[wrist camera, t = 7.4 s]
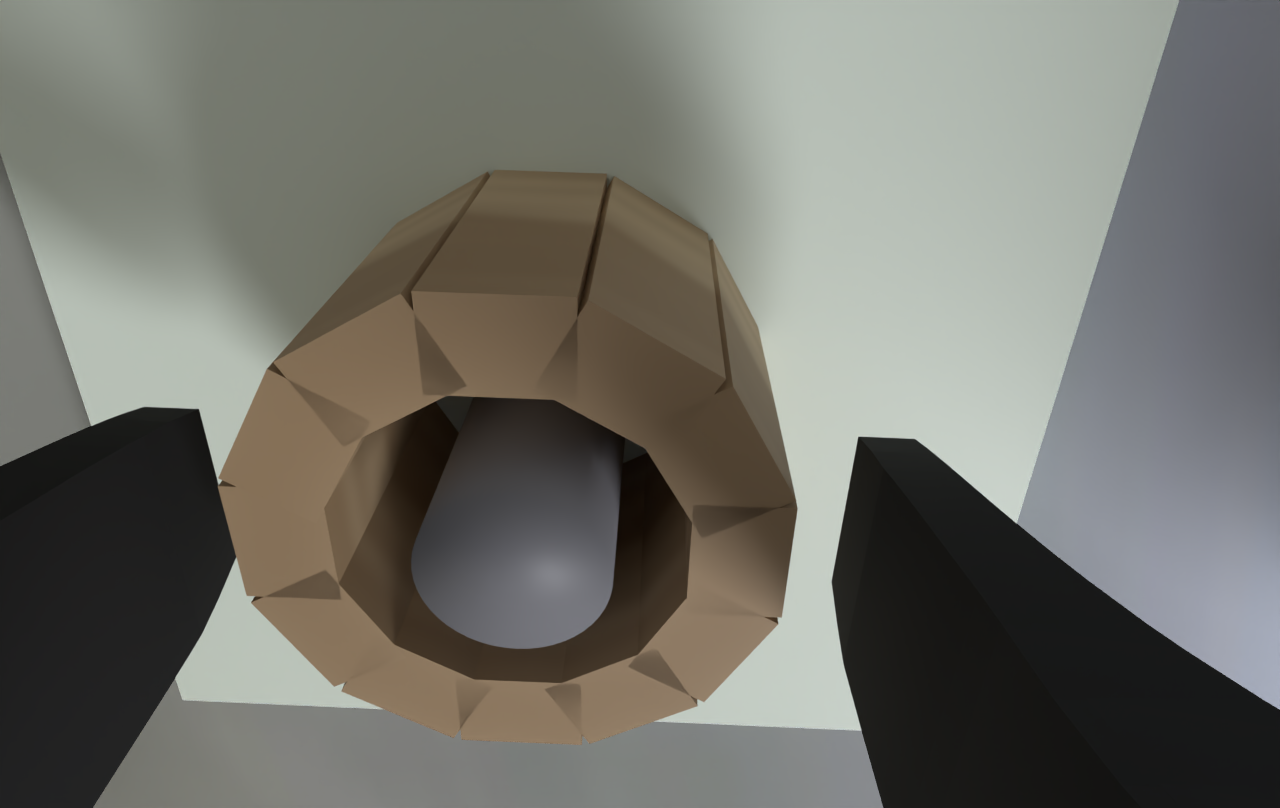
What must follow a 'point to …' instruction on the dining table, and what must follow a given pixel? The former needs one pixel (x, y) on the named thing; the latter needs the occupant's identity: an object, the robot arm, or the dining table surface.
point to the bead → (527, 369)
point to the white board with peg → (617, 146)
